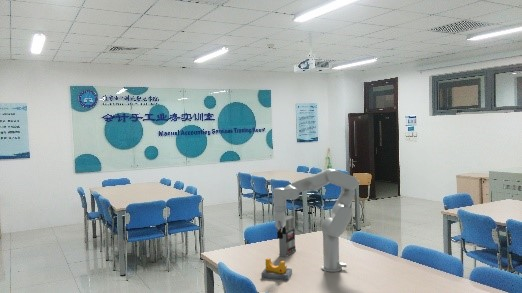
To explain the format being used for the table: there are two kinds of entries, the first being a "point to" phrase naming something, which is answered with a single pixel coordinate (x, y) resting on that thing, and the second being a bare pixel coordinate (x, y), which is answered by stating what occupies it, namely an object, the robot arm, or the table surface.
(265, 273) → the slate stand
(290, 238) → the cassette tape recorder
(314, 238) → the table surface
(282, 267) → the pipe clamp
